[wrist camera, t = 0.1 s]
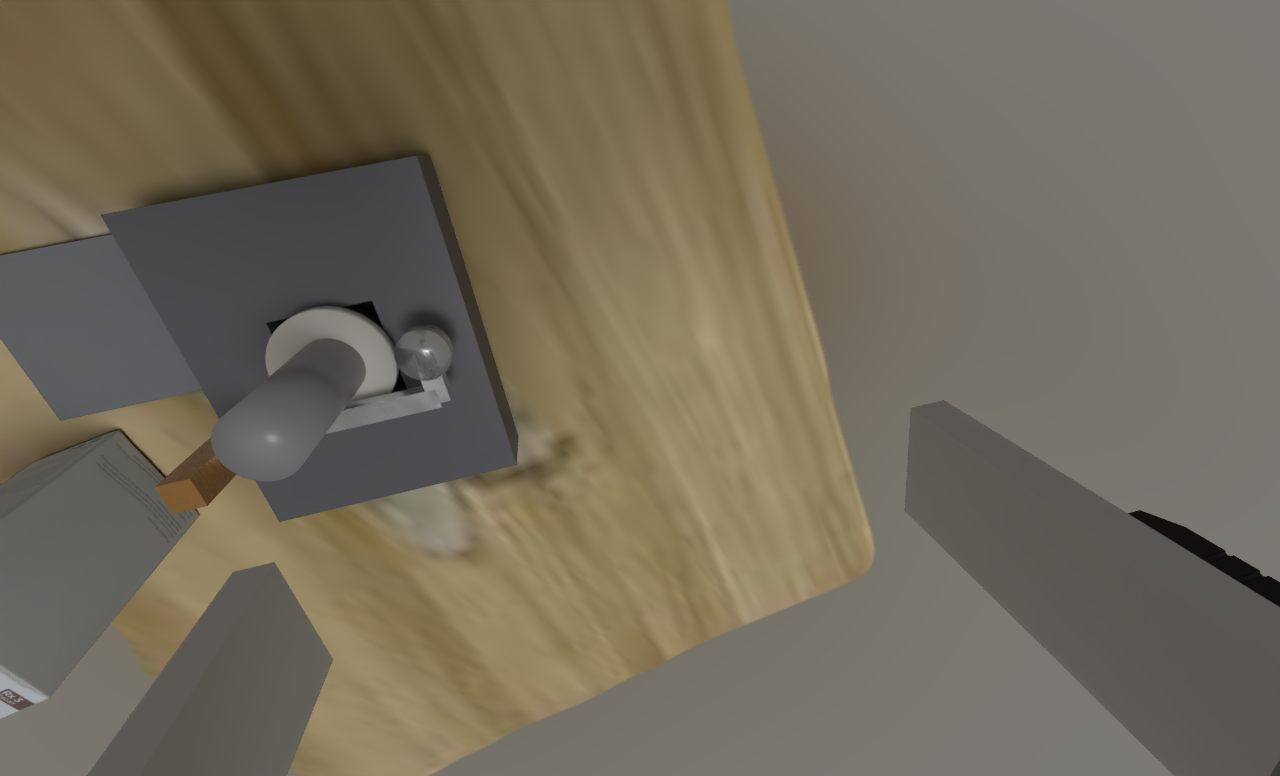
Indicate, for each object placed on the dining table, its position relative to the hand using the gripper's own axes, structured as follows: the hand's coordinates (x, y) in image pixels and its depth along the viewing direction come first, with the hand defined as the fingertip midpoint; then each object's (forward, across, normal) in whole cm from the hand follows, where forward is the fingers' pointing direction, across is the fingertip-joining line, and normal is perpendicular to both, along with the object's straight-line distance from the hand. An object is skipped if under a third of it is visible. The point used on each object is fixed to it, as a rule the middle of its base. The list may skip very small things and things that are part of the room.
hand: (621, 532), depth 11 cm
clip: (+22, -14, -3) cm, 26 cm away
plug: (+28, -14, -2) cm, 31 cm away
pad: (+28, -28, +2) cm, 40 cm away
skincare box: (+28, -33, -9) cm, 44 cm away
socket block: (+28, -14, -2) cm, 31 cm away
